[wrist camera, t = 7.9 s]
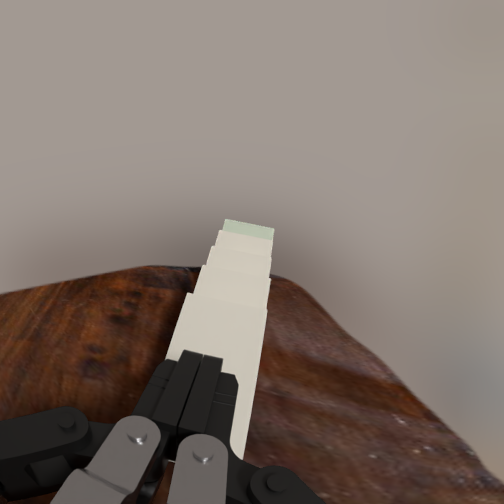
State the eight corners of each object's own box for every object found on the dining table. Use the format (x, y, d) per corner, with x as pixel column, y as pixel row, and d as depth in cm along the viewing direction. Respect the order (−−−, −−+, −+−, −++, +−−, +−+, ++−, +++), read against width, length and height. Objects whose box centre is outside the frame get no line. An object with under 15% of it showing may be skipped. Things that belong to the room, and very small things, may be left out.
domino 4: (162, 400, 14) (202, 264, 20) (167, 403, 15) (203, 276, 22) (246, 419, 14) (270, 278, 20) (244, 421, 15) (267, 289, 22)
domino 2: (191, 337, 21) (219, 229, 26) (193, 340, 23) (219, 238, 27) (253, 350, 21) (273, 240, 26) (252, 352, 23) (270, 248, 27)
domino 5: (138, 451, 10) (187, 292, 17) (145, 451, 11) (188, 305, 18) (239, 476, 10) (267, 309, 17) (236, 474, 11) (263, 321, 18)
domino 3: (178, 364, 18) (212, 245, 23) (181, 368, 19) (212, 256, 25) (250, 380, 18) (271, 257, 23) (248, 383, 19) (268, 267, 24)
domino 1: (199, 314, 24) (225, 218, 28) (201, 318, 25) (225, 227, 30) (257, 326, 24) (274, 228, 28) (255, 330, 25) (272, 236, 30)
